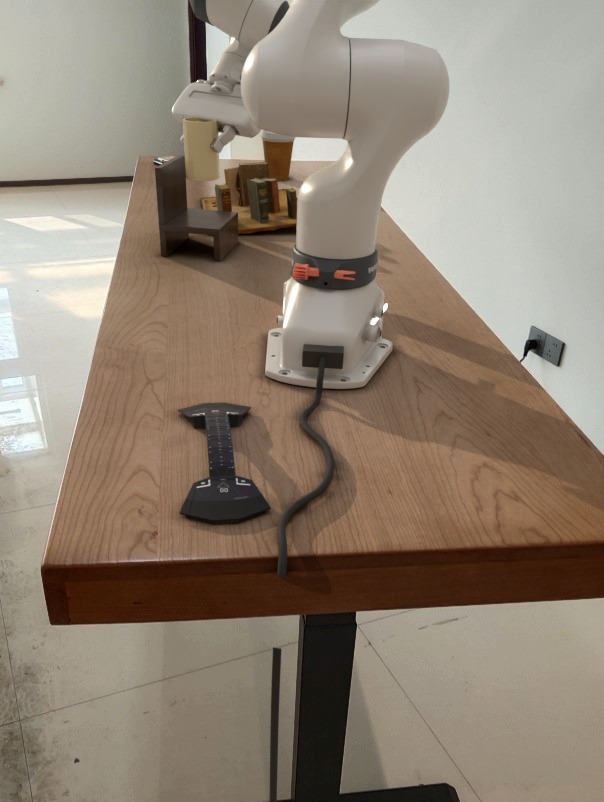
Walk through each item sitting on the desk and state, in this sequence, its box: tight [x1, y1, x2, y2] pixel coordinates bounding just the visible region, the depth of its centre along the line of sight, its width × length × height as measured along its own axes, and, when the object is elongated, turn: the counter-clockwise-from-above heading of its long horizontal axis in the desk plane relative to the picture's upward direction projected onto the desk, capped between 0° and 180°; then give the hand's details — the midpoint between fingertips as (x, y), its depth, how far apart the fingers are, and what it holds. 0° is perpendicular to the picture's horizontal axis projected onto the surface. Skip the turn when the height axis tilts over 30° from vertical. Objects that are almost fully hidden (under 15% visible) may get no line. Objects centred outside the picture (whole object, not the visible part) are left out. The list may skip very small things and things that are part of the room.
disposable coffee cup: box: [260, 130, 296, 181], centre depth 205 cm, size 10×10×12 cm
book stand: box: [199, 161, 298, 236], centre depth 167 cm, size 35×24×15 cm
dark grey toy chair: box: [154, 154, 239, 262], centre depth 144 cm, size 14×12×16 cm
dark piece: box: [177, 402, 272, 525], centre depth 82 cm, size 9×25×3 cm, turn 8°
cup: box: [182, 117, 220, 182], centre depth 138 cm, size 6×6×10 cm
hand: (199, 147), depth 138 cm, fingers closed on cup, 6 cm apart
